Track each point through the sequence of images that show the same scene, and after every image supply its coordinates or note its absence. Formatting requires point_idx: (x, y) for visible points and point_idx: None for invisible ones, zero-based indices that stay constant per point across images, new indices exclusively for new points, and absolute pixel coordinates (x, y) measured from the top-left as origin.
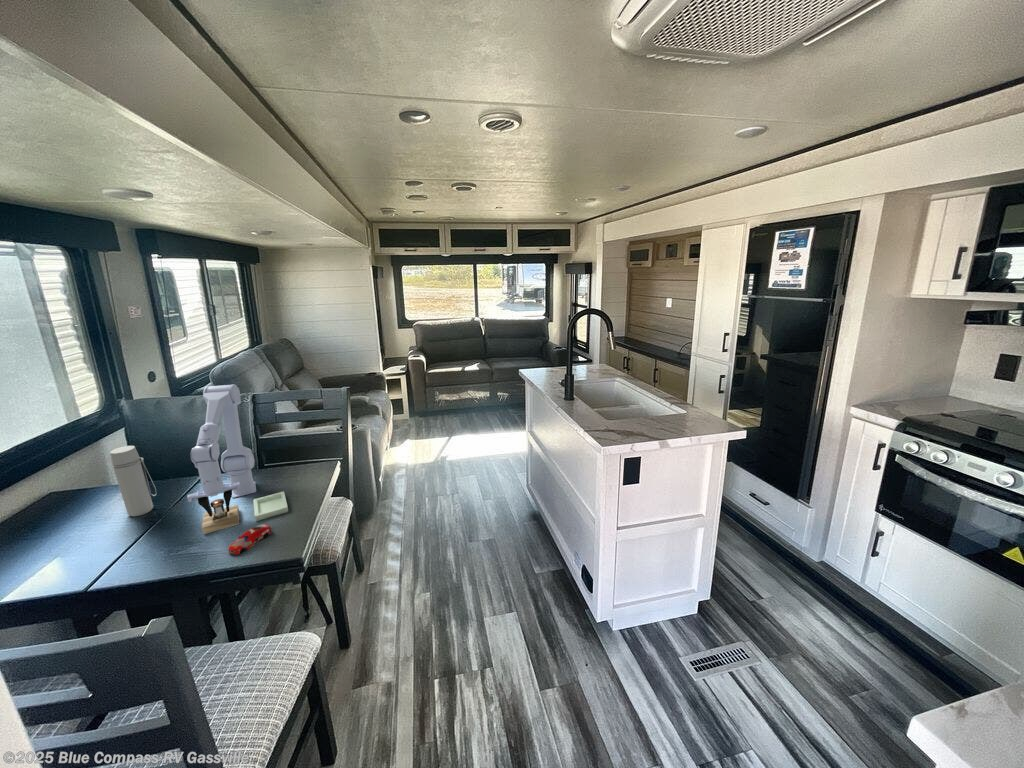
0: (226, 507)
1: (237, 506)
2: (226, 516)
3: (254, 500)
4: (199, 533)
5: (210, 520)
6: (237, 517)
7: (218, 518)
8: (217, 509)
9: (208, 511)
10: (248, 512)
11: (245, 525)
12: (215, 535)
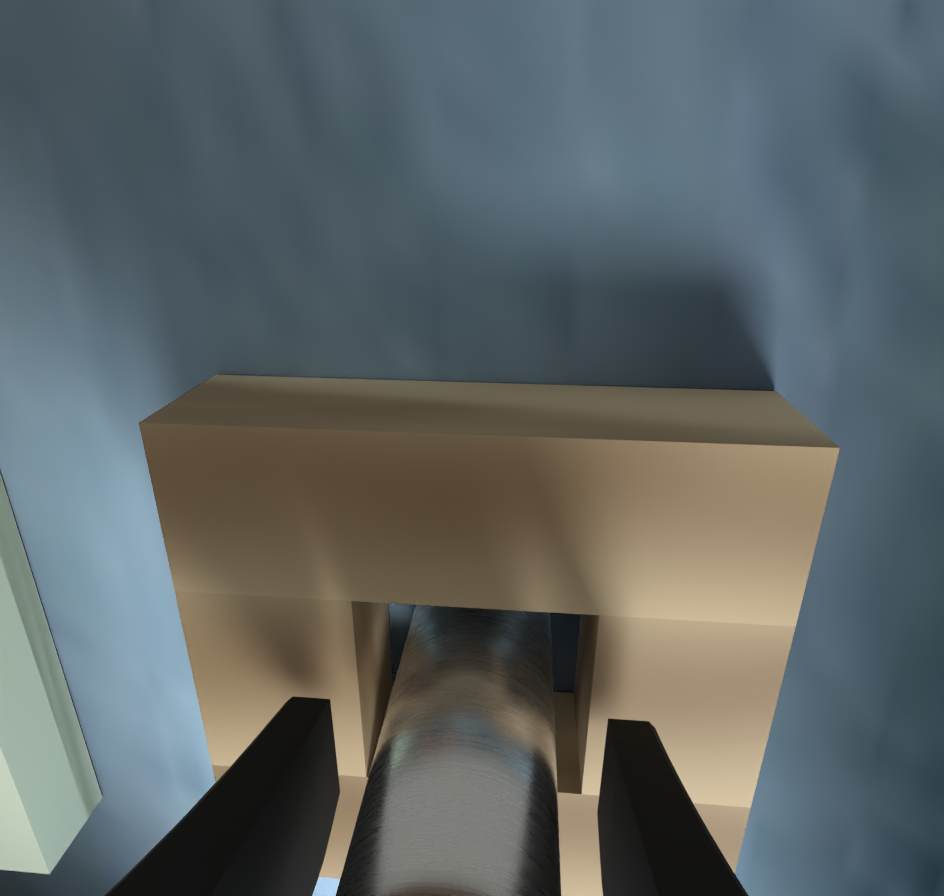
0: (263, 795)
1: None
2: None
3: (22, 841)
4: None
5: (647, 643)
6: (147, 439)
7: (508, 638)
8: (470, 827)
9: (691, 855)
10: (136, 645)
11: (97, 249)
12: (593, 207)
